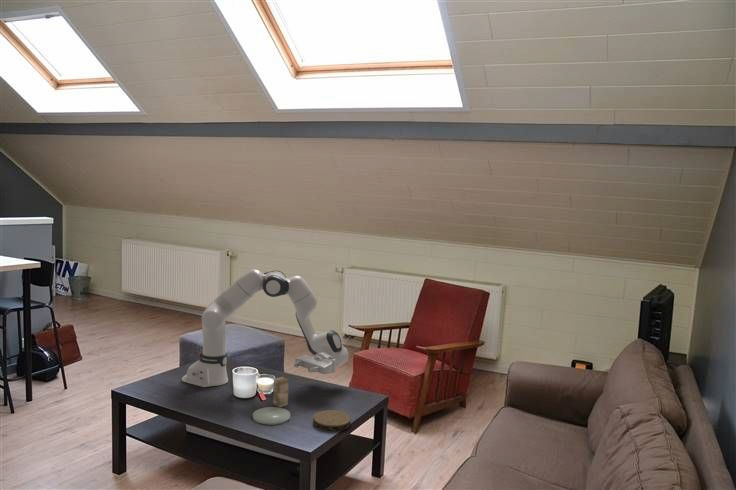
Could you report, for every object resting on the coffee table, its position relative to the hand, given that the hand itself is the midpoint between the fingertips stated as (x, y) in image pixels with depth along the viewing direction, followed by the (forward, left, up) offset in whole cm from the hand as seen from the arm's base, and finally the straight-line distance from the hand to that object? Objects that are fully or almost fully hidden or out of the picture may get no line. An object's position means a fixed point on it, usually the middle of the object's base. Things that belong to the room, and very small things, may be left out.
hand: (301, 368), depth 278 cm
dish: (-3, -25, -14) cm, 29 cm away
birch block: (-5, -11, -14) cm, 19 cm away
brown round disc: (+23, -21, -15) cm, 35 cm away
